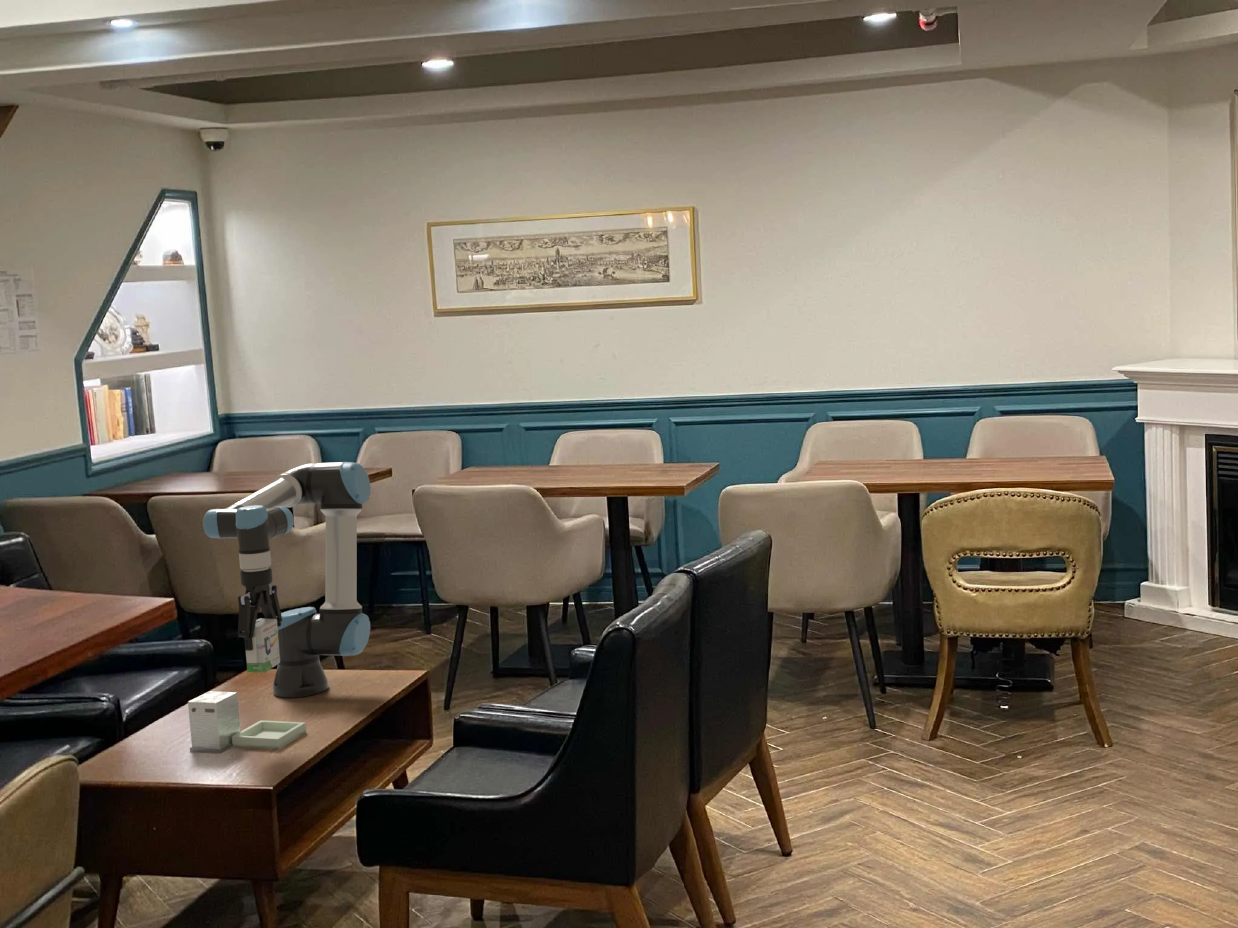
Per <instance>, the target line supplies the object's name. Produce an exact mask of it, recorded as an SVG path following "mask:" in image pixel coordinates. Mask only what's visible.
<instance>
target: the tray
mask: <svg viewBox="0 0 1238 928" xmlns="http://www.w3.org/2000/svg"><path fill="white" fill-rule="evenodd" d="M306 726H307V725H306V722H302V721H301V722H299V721H284V720H283V721H280V720H278V721H277V720H259V721H257V722H255V723H254V724H251V725H249V726H248V727H245V728H244V729H243V730H240V732H239V733H237V734H235V735H234V736H232V745H233V746H232V747H233V748H248V749H250V748H252V749H263V750H265V749H267V750H280V749H282V748H283V747H285V746H286V745H288V744H290V743H292V742H294V741H295V740H296V739H298V738H300V737H301V736H303V735H305V734H306V733H307V727H306Z"/></svg>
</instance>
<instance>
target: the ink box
mask: <svg viewBox="0 0 1238 928" xmlns="http://www.w3.org/2000/svg"><path fill="white" fill-rule="evenodd" d="M249 632H250V631H249ZM253 636H254V637H256V644H257V656H258V663H247V662H246V671H247V673H253V674H255V673H256V674H257V673H258V674H259V673H260V674H261V673H263V674H264V673H267V672H269V670H271V669H273V668H274V667H276V666H278V664H279V663H280V655H279V641H278V629H277V619H265V617H264V618H263V617H262V618H261V617H260V618H258V619H256V624H255V630H254V635H253Z"/></svg>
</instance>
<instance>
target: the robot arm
mask: <svg viewBox="0 0 1238 928" xmlns="http://www.w3.org/2000/svg"><path fill="white" fill-rule="evenodd" d="M370 496H371V482H370V478H369V475H368V472H367V470H366V469H365V467H364V466H363V465H361V464H360V463H358V462H351V461H350V462H349V461H339V462H337V461H336V462H335V461H334V462H309V463H305V464H300V465H298V466H296V467H293V468H291V469H289V470H287V471H284V472H282V473H280V474H279V475H277V476H275V477H274V478H273V479H272V480H271V483H269V484H268V485H266V486H264V487H262V488H260V489H259V490H256V491H255V492H253V493H251V494H249V495H247V496H246V497H244V498H242V499H241V500H239V501H237V502H235V503H233V504H231V505H230V506H228V507H225V508H214V509H209V510H208V511H206V513H204V516H203V521H202V527H203V530H204V534H205V535H206V536H207V537H209V538H211V539H219V540H223V539H237V548H238V559H239V568H240V572H239V576H240V584H241V586H243V587H244V588H245V593H244V595H239V596H238V597H237V600H238V623H237V625H238V626H237V636H238V638H243V639H244V646H245V647H244V649H245V657H246V658H245V659H246V664H247V663H258V656H257V644H256V637H254V636H253V635H254V630H255V624H256V620H257V618H258V612H259V611H260V609H261V611H262V614H263V616H264V619H277V629H278V641H279V655H280V663H279V664H277V668H276V671H275V675H274V680H273V684H272V691H273V692H272V693H273V695H274V696H276V697H279V698H289V699H290V698H303V697H309V696H313V695H317V694H321V693H322V692H325V691H326V690H327V689H328V688H329V684H328V682H329V681H328V678H327V675H326V673H325V671H324V668H323V666H322V663H321V661H320V660H321V659H320V656H342V657H347V656H348V657H349V656H358V655H360V654H361V653H362V652H363V651H364V649H365V648H366V646H367V644H368V642H369V639H370V634H371V621H370V618H369V616H368V615H367V614H365V613H363V606H362V605H361V604H360V603H359V602H358V600H357V588H358V587H357V581H358V580H357V578H358V576H357V572H358V571H357V570H358V569H357V568H358V567H357V566H358V565H357V564H358V563H357V561H358V560H357V551H358V550H357V547H358V546H357V545H358V544H357V543H358V541H357V540H358V539H357V538H358V537H357V535H358V534H357V533H358V531H357V528H358V527H357V526H358V525H357V524H358V523H357V522H358V521H357V519H358V517H357V516H359V514H360V513H361V512H362V511H363V505H364V504H366V503H367V502H368V501H369V499H370ZM305 504H307V505H311V504H312V505H313V504H314V505H318V504H319V505H320V507H319V508H320V509H319V511H320V512H321V513H322V514H323V515H324V516H325V595H324V596H325V599H324V600H325V601H324V603H322V605H320V607H319V613H317V610H316V608H315V607H314V606H307V607H306V606H305V607H300V608H295V609H289V610H287V611H284V612H282V611H281V607H280V603H279V598H278V586H277V585H273V584H272V583H273V571H272V570H273V569H272V568H271V566H272V558H271V557H272V555H271V548H270V540H273V539H277V538H281V537H283V536H285V535H286V534H289V533H290V532H291V531H292V530H293V527H294V524H295V518H294V515H293V513H292V512H291V510H290V509H289V508H293V507H295V506H296V505H305ZM270 584H272V585H270ZM249 631H250V632H249Z"/></svg>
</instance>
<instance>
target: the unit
mask: <svg viewBox="0 0 1238 928" xmlns="http://www.w3.org/2000/svg"><path fill="white" fill-rule="evenodd" d="M187 705H188V718H189V719H188V720H189V729H190V739H191V746H190V747H189V752H192V753H194V752H195V753H210V754H222V753H223V752H225V751H227V750H228V749H231V748H232V747H233V745H232V736H234V735H235V734H237V733H239V732H241V723H240V722H241V721H240V712H239V699H238V692H237V691H236V692H235V691H215V690H210V691H207V692H205V693H203V694H201V695H199V696H197V697H195V698H193V699H190V700H188V701H187Z"/></svg>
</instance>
